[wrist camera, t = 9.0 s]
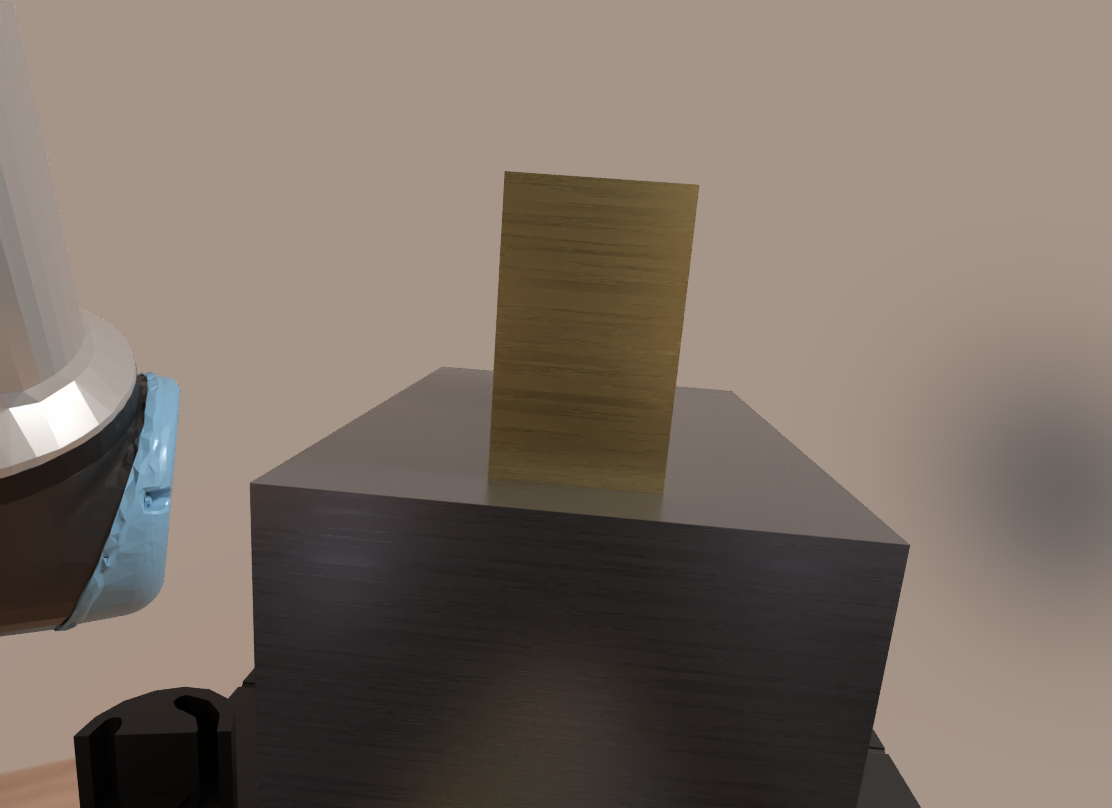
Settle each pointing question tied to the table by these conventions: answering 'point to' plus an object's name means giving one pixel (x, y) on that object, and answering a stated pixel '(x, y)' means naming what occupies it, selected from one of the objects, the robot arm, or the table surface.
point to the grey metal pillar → (568, 562)
